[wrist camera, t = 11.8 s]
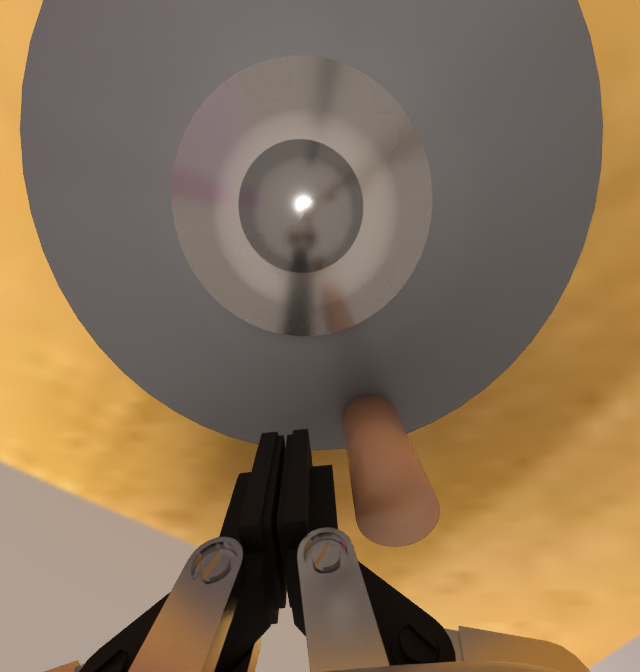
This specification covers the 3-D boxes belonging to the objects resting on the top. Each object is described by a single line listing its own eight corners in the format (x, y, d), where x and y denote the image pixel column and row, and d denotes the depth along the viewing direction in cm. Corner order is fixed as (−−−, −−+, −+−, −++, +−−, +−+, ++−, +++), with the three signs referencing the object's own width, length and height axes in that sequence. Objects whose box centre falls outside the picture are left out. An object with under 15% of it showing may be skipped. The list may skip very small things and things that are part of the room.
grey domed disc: (542, -219, 10) (1012, -1161, 3) (571, 368, 16) (761, 467, 9) (-43, -1, 11) (-564, -344, 5) (183, 464, 17) (97, 612, 10)
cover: (371, 68, 10) (404, -29, 7) (424, 278, 12) (472, 297, 9) (172, 149, 11) (95, 104, 7) (253, 337, 13) (226, 379, 9)
